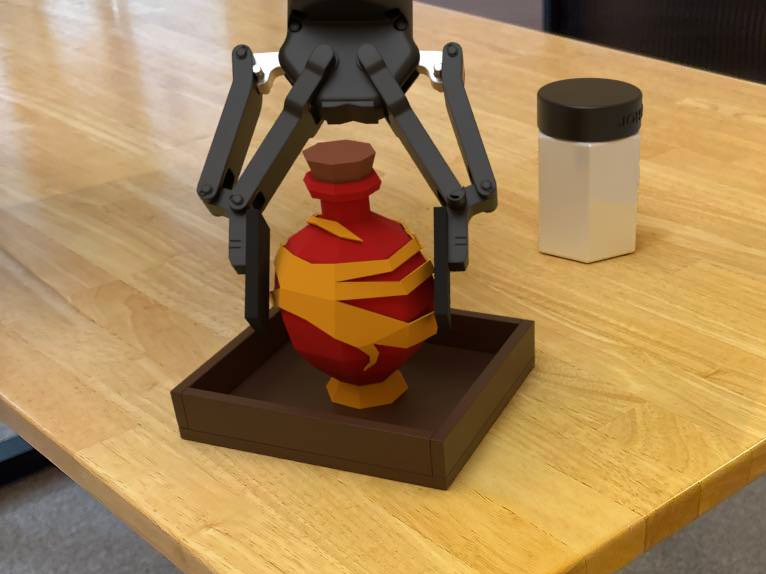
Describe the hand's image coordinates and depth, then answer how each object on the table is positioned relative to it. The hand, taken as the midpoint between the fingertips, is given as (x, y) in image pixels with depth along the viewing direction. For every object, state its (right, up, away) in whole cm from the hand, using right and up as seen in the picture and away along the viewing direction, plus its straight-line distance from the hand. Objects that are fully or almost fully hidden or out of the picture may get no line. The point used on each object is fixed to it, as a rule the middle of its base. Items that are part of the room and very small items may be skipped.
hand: (350, 324), depth 63 cm
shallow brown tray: (0, -4, +7) cm, 7 cm away
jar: (+15, +12, +27) cm, 33 cm away
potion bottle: (0, -3, +6) cm, 7 cm away
